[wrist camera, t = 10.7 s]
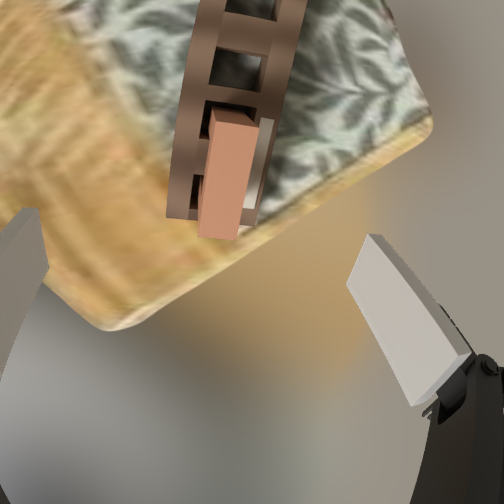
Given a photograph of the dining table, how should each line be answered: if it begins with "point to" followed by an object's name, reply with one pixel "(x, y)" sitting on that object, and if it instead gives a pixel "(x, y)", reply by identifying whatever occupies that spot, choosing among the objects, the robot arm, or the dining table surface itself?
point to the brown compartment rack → (232, 95)
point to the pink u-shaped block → (225, 173)
